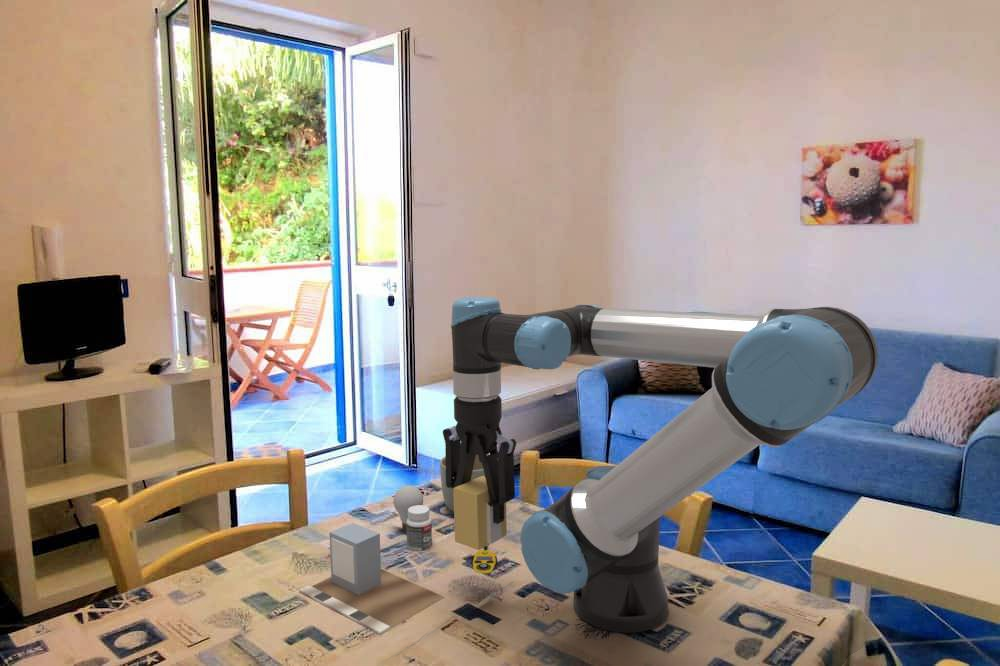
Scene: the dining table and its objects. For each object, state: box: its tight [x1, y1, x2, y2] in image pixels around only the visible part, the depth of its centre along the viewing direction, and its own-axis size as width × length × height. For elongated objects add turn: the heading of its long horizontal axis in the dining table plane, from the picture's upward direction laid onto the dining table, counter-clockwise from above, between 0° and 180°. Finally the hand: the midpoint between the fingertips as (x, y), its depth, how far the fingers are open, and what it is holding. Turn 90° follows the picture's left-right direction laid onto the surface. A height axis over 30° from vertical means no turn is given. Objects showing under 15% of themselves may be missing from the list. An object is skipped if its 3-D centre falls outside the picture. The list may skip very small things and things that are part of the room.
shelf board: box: [298, 568, 445, 636], centre depth 122 cm, size 20×14×2 cm
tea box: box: [453, 476, 508, 551], centre depth 119 cm, size 5×7×9 cm
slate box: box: [328, 522, 382, 595], centre depth 125 cm, size 5×7×9 cm
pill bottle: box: [406, 505, 433, 552], centre depth 139 cm, size 5×5×8 cm
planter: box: [439, 453, 490, 512], centre depth 159 cm, size 12×12×11 cm
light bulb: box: [392, 484, 424, 532], centre depth 147 cm, size 6×6×10 cm
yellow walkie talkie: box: [470, 545, 499, 574], centre depth 136 cm, size 5×2×15 cm
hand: (480, 535), depth 119 cm, fingers closed on tea box, 5 cm apart
